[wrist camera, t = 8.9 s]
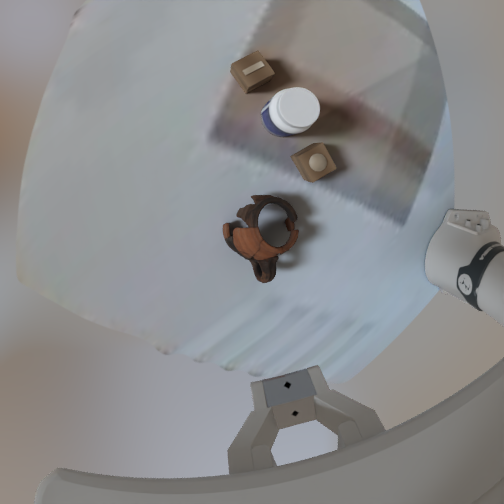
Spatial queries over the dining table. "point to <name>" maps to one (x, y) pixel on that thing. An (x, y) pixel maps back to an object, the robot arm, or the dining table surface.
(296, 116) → the pill bottle
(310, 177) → the walnut block dot
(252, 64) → the walnut block bar
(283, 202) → the pottery mug
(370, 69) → the dining table surface
